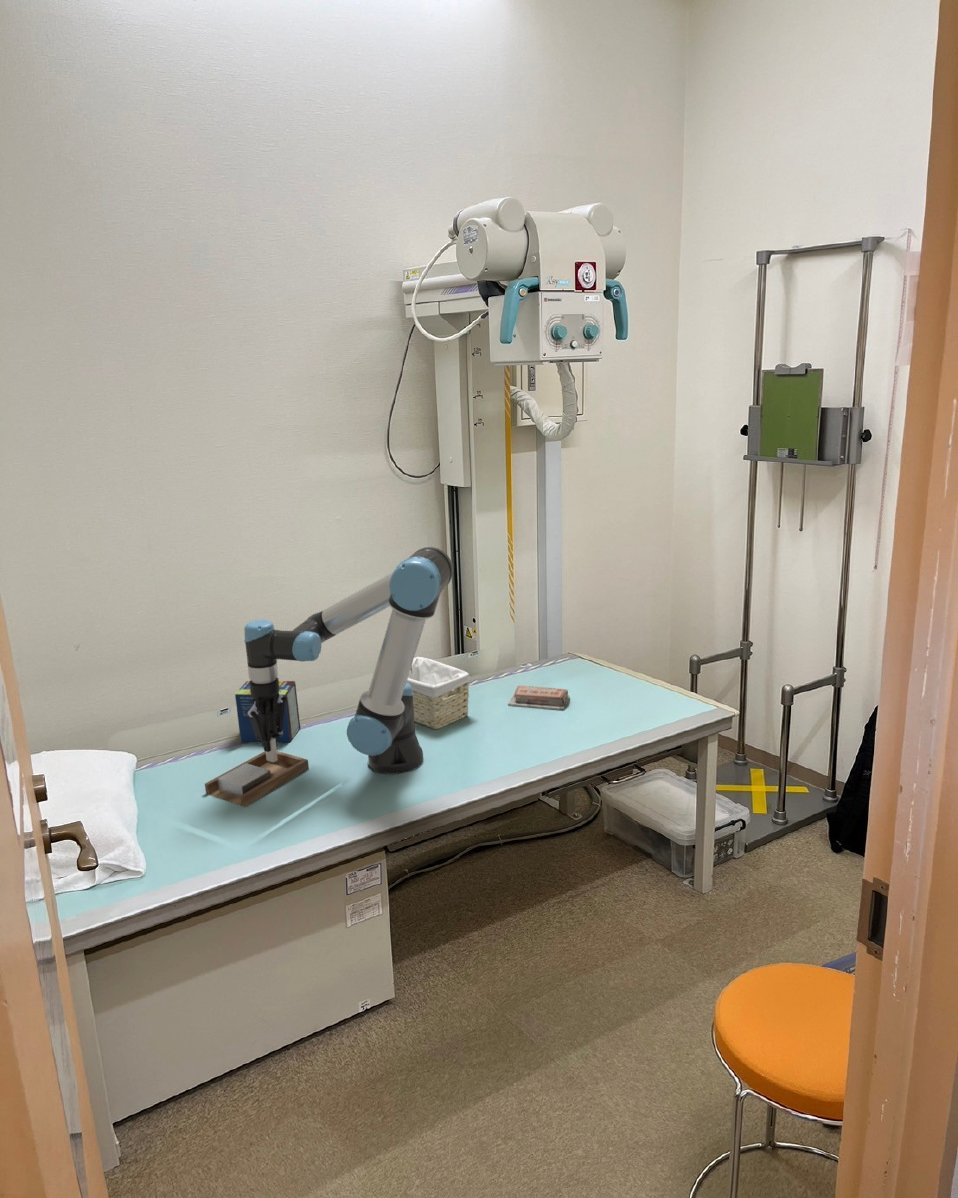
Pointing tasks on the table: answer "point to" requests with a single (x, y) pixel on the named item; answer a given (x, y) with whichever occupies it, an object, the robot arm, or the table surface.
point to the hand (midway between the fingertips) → (272, 760)
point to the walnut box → (280, 775)
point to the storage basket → (438, 692)
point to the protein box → (289, 720)
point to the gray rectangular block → (242, 780)
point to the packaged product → (540, 698)
